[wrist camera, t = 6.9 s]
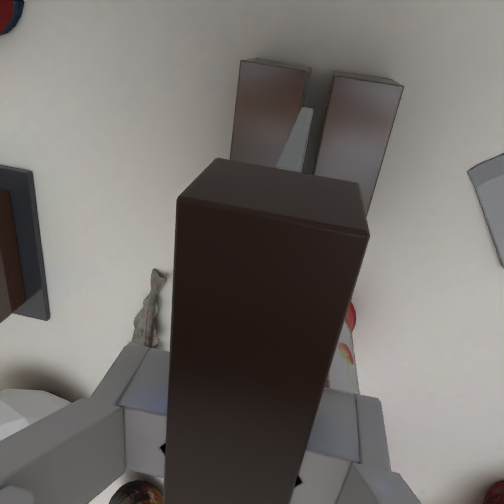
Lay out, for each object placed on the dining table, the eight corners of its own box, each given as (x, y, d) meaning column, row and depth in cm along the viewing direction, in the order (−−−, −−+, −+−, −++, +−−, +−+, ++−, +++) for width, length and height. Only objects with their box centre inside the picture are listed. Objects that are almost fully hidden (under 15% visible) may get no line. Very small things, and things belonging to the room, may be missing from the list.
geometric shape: (104, 380, 53) (128, 497, 43) (15, 445, 54) (18, 575, 44) (10, 340, 43) (13, 483, 33) (-99, 422, 43) (-130, 586, 33)
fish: (137, 360, 45) (164, 389, 43) (105, 373, 42) (133, 405, 40) (159, 256, 40) (192, 282, 37) (125, 263, 37) (159, 292, 34)
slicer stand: (254, 58, 28) (240, 60, 24) (392, 79, 28) (404, 85, 23) (236, 204, 34) (221, 228, 29) (352, 226, 33) (355, 254, 28)
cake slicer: (270, 101, 13) (175, 196, 5) (346, 113, 13) (372, 234, 5) (235, 343, 18) (158, 588, 10) (289, 355, 17) (256, 615, 10)
